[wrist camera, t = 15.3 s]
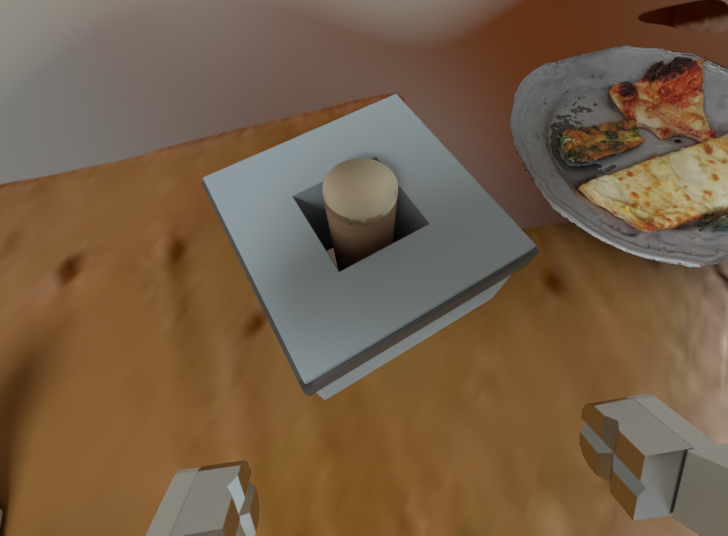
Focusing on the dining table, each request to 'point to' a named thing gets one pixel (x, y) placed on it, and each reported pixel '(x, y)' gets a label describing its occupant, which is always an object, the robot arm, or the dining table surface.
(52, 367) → the dining table surface
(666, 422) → the robot arm
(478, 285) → the collar block
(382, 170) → the beige cylinder
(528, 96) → the food plate
